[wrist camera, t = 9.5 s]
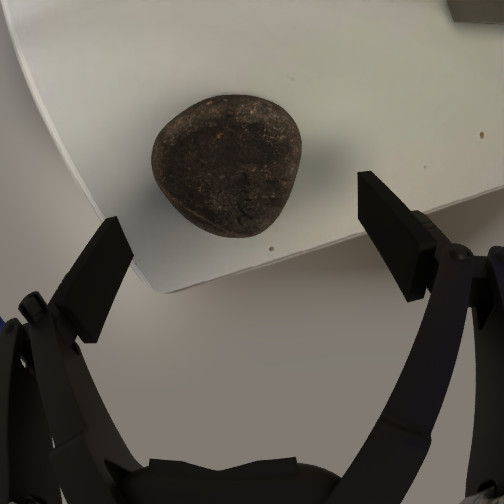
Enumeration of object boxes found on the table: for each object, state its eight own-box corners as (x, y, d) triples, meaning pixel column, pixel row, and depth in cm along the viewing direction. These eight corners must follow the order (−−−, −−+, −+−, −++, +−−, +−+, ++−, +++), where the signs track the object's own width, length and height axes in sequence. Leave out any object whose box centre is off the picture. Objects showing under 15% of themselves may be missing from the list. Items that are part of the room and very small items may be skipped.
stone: (321, 190, 24) (338, 218, 20) (212, 240, 27) (207, 275, 23) (263, 68, 18) (269, 67, 14) (142, 135, 21) (119, 153, 17)
